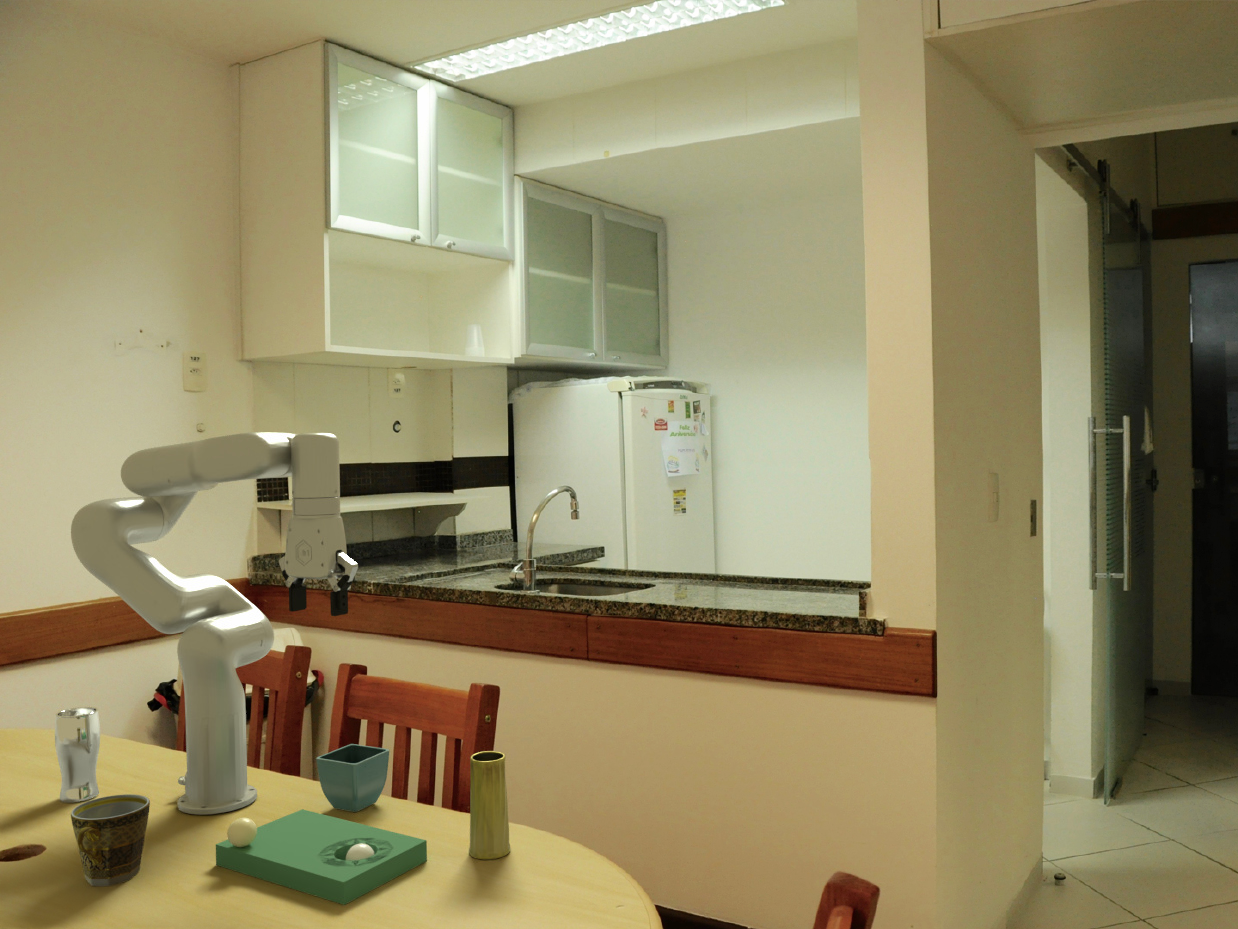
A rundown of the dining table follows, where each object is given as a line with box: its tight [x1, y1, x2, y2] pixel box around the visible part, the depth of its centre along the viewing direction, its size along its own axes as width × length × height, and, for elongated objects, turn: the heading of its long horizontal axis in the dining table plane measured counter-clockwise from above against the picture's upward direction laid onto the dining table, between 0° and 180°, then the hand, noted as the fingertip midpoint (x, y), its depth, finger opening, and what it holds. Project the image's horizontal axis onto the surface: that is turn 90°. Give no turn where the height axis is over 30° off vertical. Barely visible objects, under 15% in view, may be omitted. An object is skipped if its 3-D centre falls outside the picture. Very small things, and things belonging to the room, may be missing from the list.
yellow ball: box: [226, 817, 258, 847], centre depth 145 cm, size 4×4×4 cm
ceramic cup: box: [70, 793, 151, 887], centre depth 141 cm, size 13×10×10 cm
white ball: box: [346, 843, 374, 861], centre depth 142 cm, size 4×4×4 cm
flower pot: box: [315, 743, 390, 813], centre depth 169 cm, size 9×9×9 cm
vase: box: [468, 750, 511, 861], centre depth 149 cm, size 6×6×14 cm
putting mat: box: [215, 809, 428, 906], centre depth 146 cm, size 26×16×3 cm, turn 59°
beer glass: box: [54, 706, 101, 804], centre depth 175 cm, size 7×7×15 cm
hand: (318, 612), depth 165 cm, fingers open, 9 cm apart
